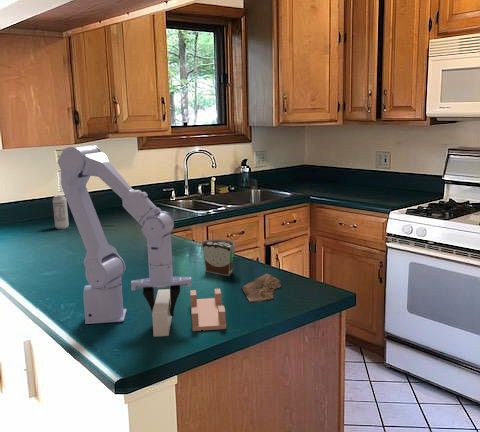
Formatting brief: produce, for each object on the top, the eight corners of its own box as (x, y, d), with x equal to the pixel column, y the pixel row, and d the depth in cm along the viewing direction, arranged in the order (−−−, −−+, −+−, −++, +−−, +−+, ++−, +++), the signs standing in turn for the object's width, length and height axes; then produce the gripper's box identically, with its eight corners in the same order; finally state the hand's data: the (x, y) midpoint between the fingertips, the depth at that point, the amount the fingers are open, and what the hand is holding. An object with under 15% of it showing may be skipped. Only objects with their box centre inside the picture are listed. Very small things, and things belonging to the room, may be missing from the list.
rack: (192, 331, 126) (191, 315, 125) (190, 303, 145) (190, 289, 144) (226, 328, 127) (225, 313, 126) (220, 301, 145) (219, 287, 145)
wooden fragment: (270, 304, 142) (270, 301, 142) (231, 302, 145) (231, 298, 145) (287, 276, 167) (287, 273, 167) (254, 274, 170) (254, 271, 169)
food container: (243, 271, 172) (243, 241, 170) (232, 276, 167) (232, 245, 165) (213, 266, 178) (212, 237, 177) (202, 270, 174) (200, 241, 172)
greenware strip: (153, 336, 124) (152, 312, 123) (159, 311, 139) (158, 289, 138) (168, 335, 124) (167, 311, 123) (172, 310, 140) (171, 289, 138)
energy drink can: (71, 226, 248) (68, 194, 245) (65, 229, 242) (62, 196, 239) (59, 226, 249) (56, 194, 246) (52, 229, 243) (49, 196, 240)
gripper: (128, 269, 124) (132, 323, 127) (190, 265, 125) (193, 319, 128) (131, 260, 131) (134, 312, 133) (190, 257, 132) (192, 308, 135)
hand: (163, 315), depth 131 cm, fingers closed on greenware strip, 4 cm apart
